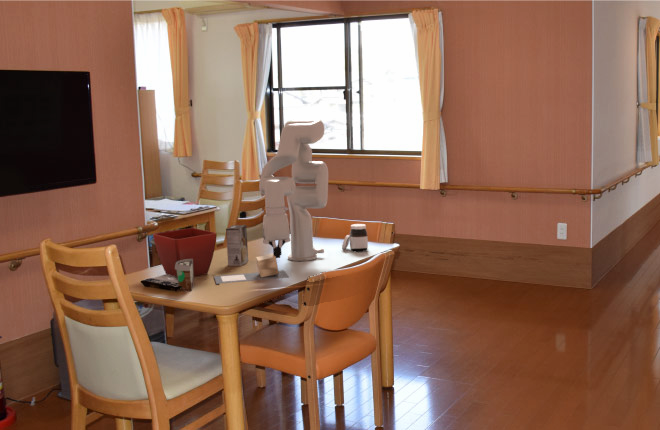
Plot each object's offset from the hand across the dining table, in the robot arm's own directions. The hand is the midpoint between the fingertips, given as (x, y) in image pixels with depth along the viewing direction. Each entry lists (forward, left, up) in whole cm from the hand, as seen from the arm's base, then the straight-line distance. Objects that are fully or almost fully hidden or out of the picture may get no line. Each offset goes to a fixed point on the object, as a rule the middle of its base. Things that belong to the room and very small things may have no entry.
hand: (277, 257), depth 289 cm
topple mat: (+11, 0, -7) cm, 13 cm away
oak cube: (+4, 0, -7) cm, 8 cm away
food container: (+37, +7, -8) cm, 38 cm away
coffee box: (+13, -29, -8) cm, 32 cm away
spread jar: (-41, -38, -8) cm, 56 cm away
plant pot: (+35, -17, -8) cm, 39 cm away
